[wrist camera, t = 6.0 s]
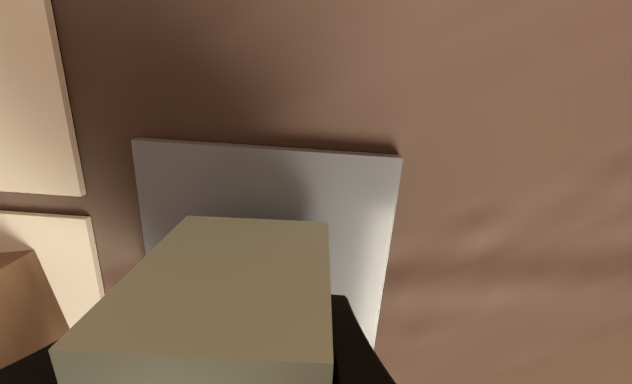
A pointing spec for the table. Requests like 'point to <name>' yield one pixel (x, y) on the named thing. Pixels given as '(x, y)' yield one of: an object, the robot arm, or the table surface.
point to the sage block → (212, 310)
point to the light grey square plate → (280, 201)
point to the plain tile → (59, 256)
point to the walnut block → (26, 307)
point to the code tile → (35, 105)
